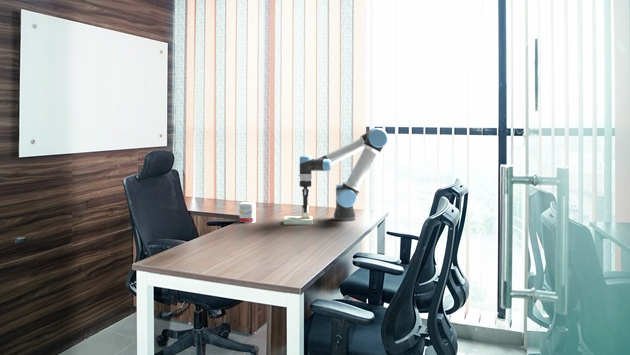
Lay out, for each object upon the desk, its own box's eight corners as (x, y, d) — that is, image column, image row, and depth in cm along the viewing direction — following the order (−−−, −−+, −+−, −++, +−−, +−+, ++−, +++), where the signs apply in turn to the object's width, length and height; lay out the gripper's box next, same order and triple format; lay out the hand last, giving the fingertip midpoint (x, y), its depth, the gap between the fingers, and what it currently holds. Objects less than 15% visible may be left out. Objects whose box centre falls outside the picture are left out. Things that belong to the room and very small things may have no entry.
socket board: (312, 221, 315) (312, 216, 315) (312, 224, 303) (312, 219, 303) (285, 220, 316) (285, 216, 315) (283, 224, 304) (283, 219, 303)
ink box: (252, 222, 308) (251, 204, 307) (239, 222, 310) (238, 203, 308) (256, 220, 316) (255, 202, 315) (243, 219, 318) (243, 201, 317)
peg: (308, 220, 311) (308, 205, 310) (308, 221, 307) (308, 206, 306) (302, 220, 311) (302, 205, 310) (302, 221, 307) (302, 206, 306)
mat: (256, 220, 318) (256, 219, 318) (254, 223, 308) (254, 222, 308) (241, 220, 318) (241, 219, 318) (238, 222, 308) (238, 222, 308)
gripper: (300, 178, 315) (300, 214, 317) (298, 181, 298) (298, 219, 301) (311, 179, 315) (311, 214, 317) (311, 181, 298) (310, 219, 301)
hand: (305, 216), depth 309 cm, fingers closed on peg, 4 cm apart
